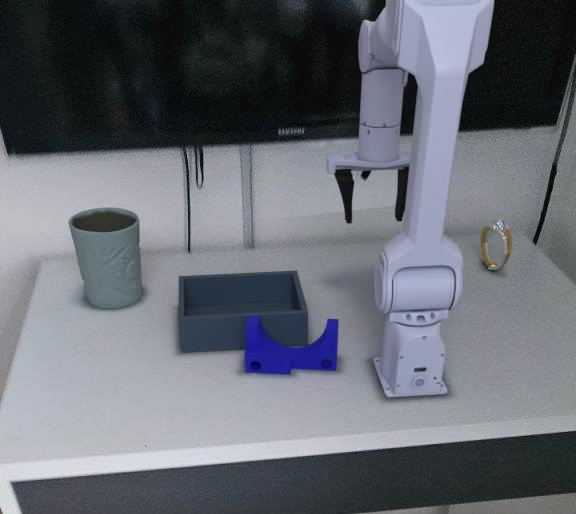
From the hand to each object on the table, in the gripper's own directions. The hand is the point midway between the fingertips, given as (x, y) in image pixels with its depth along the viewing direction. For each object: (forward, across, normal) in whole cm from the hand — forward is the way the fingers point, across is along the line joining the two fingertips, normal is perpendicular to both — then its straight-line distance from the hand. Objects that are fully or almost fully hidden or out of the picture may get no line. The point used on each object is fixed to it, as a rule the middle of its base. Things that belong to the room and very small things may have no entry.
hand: (373, 220), depth 115 cm
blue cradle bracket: (+10, +15, +24) cm, 30 cm away
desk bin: (+10, +21, +12) cm, 26 cm away
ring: (+10, -21, -3) cm, 24 cm away
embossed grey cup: (+10, +40, 0) cm, 41 cm away
